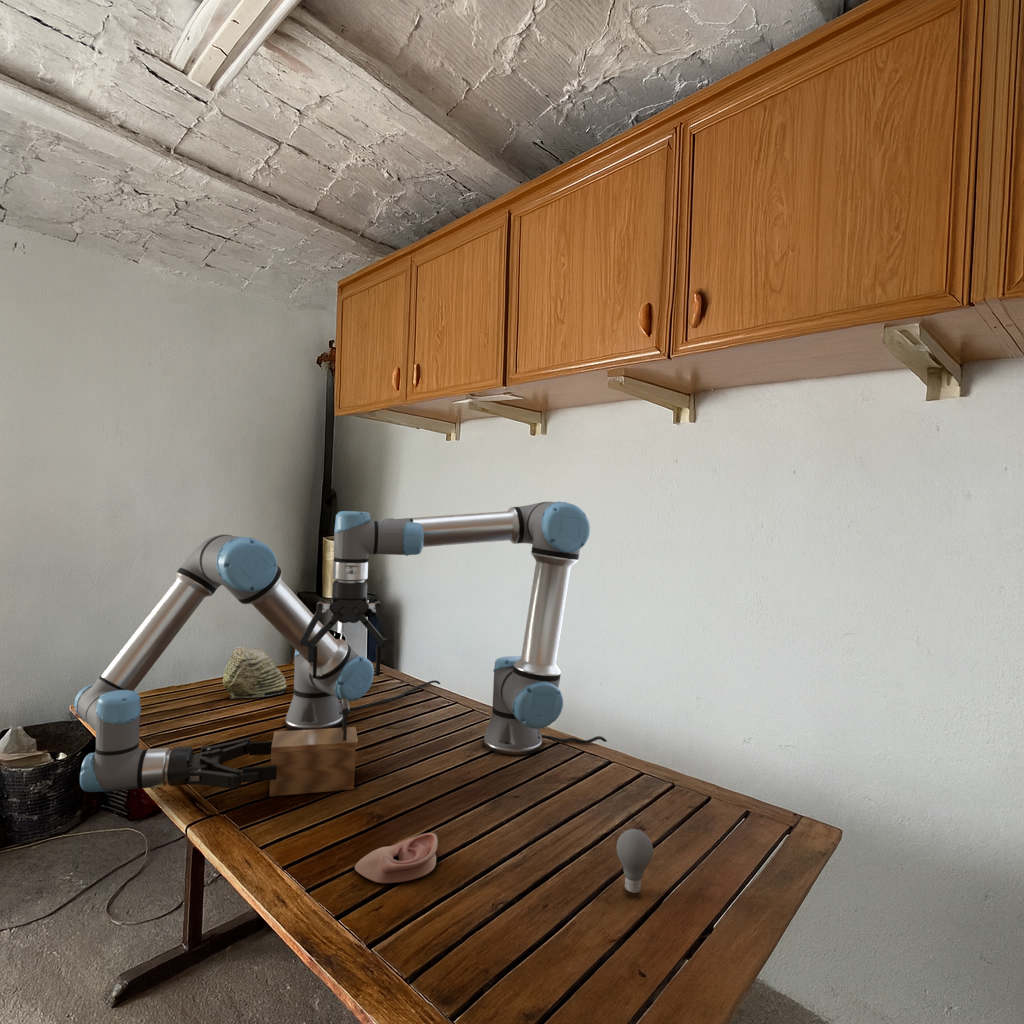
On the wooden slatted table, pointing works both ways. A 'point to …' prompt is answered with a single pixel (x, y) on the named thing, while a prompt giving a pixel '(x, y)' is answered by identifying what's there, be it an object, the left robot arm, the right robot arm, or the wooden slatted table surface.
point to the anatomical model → (400, 860)
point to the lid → (317, 737)
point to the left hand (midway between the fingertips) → (278, 759)
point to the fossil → (252, 674)
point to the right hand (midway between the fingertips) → (346, 675)
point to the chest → (313, 771)
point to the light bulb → (634, 857)
